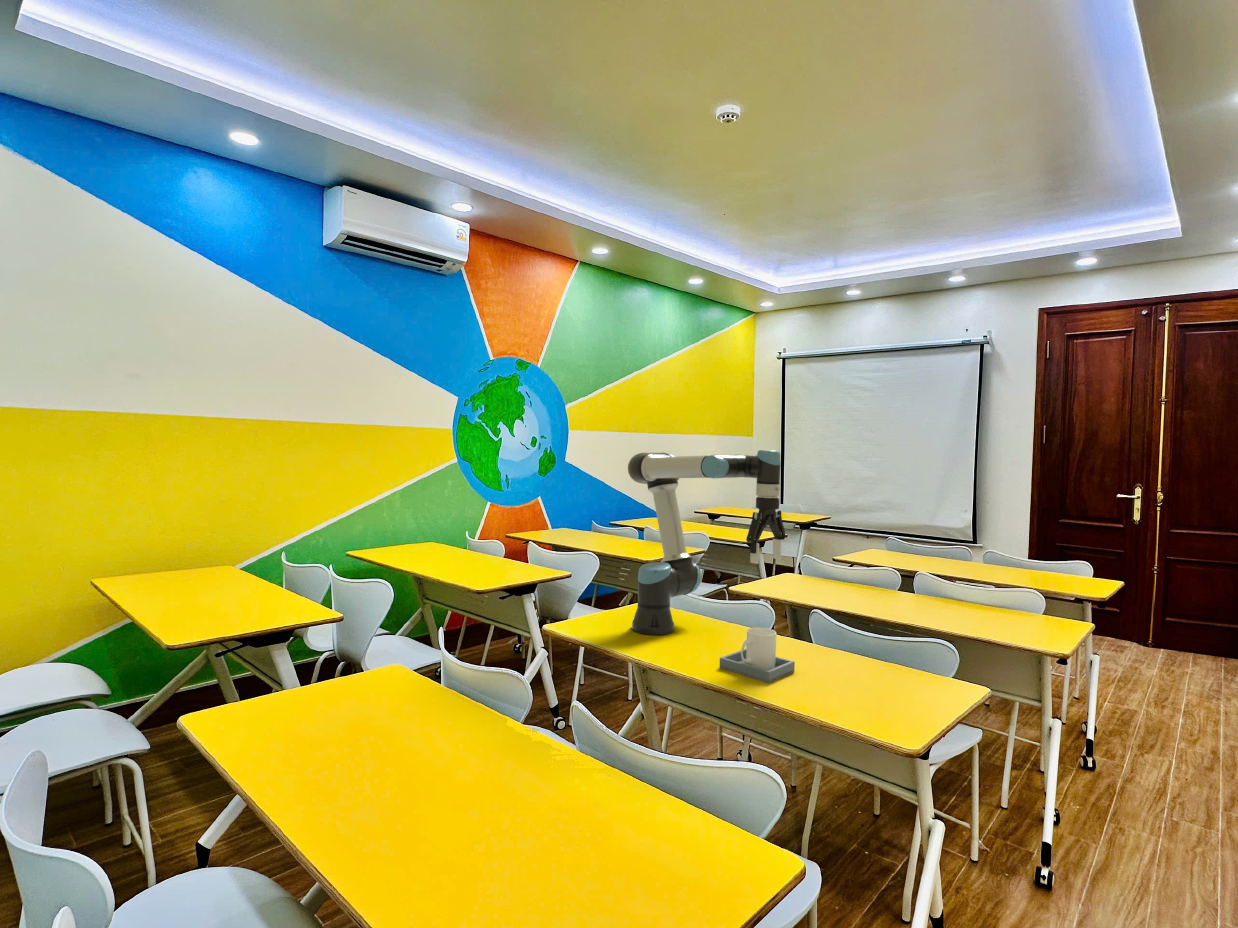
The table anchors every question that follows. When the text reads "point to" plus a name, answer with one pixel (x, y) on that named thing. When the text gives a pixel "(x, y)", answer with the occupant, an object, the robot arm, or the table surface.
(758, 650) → the mug
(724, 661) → the tray
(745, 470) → the robot arm
